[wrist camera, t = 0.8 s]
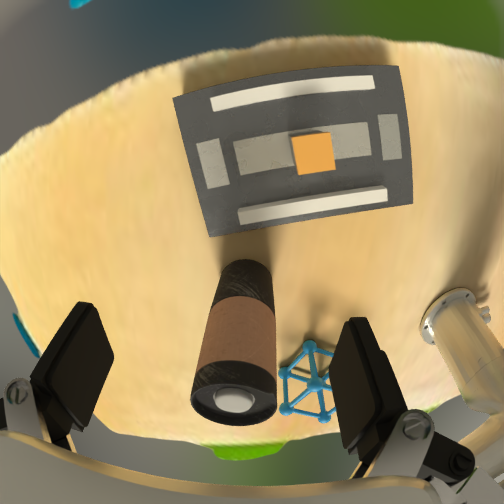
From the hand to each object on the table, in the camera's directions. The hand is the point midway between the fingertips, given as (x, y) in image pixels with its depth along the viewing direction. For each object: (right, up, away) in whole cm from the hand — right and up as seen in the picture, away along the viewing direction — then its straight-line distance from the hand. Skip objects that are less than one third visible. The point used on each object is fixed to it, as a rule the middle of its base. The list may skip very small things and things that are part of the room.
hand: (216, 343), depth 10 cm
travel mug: (0, -1, +30) cm, 30 cm away
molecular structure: (+12, -16, +37) cm, 42 cm away
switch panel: (+7, +16, +21) cm, 27 cm away
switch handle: (+7, +14, +17) cm, 23 cm away
